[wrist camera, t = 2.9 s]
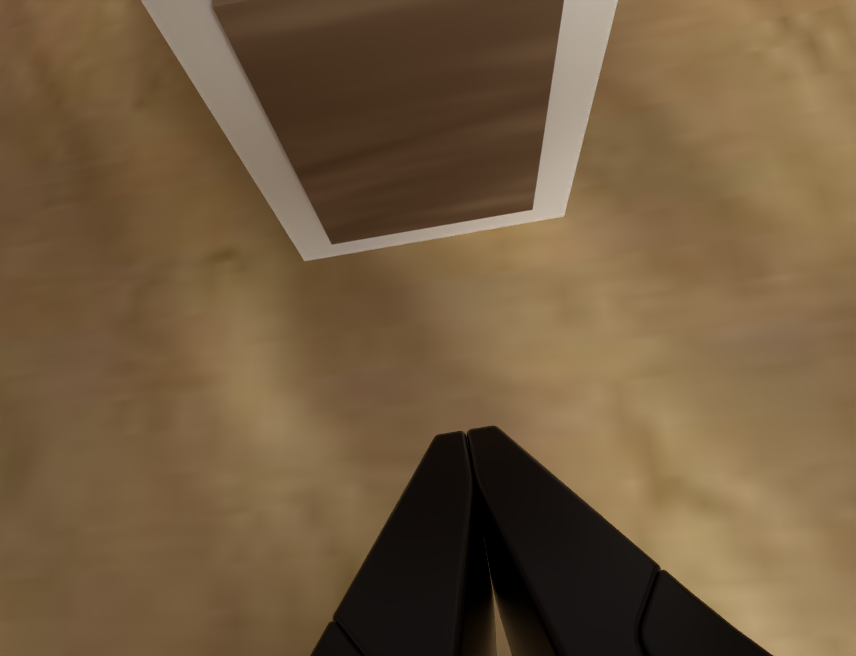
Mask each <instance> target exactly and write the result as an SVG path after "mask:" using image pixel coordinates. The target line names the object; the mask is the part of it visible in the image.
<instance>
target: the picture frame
mask: <svg viewBox="0 0 856 656" xmlns="http://www.w3.org/2000/svg"><path fill="white" fill-rule="evenodd" d="M141 2H142V3H143V5H144V6H145V8H146V10H147V11H148V13H149V14H150V16H151V18H152V19H153V21H154V22H155V24H156V26H157V27H158V29H159V30H160V32H161V33H162V35H163V37H164V38H165V40H166V41H167V43H168V45H169V46H170V48H171V49H172V51H173V53H174V54H175V56H176V57H177V59H178V61H179V62H180V64H181V65H182V67H183V68H184V70H185V72H186V73H187V75H188V76H189V78H190V80H191V81H192V83H193V84H194V86H195V88H196V89H197V91H198V92H199V94H200V96H201V97H202V99H203V100H204V102H205V104H206V105H207V107H208V108H209V110H210V111H211V113H212V115H213V116H214V118H215V119H216V121H217V123H218V124H219V126H220V127H221V129H222V131H223V132H224V134H225V135H226V137H227V139H228V140H229V142H230V143H231V145H232V147H233V148H234V150H235V151H236V153H237V154H238V156H239V158H240V159H241V161H242V162H243V164H244V166H245V167H246V169H247V170H248V172H249V174H250V175H251V177H252V178H253V180H254V182H255V183H256V185H257V186H258V188H259V190H260V191H261V193H262V194H263V196H264V197H265V199H266V201H267V202H268V204H269V205H270V207H271V209H272V210H273V212H274V213H275V215H276V217H277V218H278V220H279V221H280V223H281V225H282V226H283V228H284V229H285V231H286V233H287V234H288V236H289V237H290V239H291V240H292V242H293V244H294V245H295V247H296V248H297V250H298V252H299V253H300V255H301V256H302V258H303V260H304V261H309V260H315V259H321V258H327V257H333V256H338V255H344V254H350V253H356V252H362V251H367V250H373V249H379V248H385V247H390V246H396V245H402V244H408V243H414V242H419V241H425V240H431V239H437V238H442V237H448V236H454V235H460V234H466V233H471V232H477V231H483V230H489V229H495V228H500V227H506V226H512V225H518V224H523V223H529V222H535V221H541V220H547V219H552V218H558V217H564V214H565V210H566V206H567V202H568V198H569V194H570V190H571V186H572V182H573V178H574V174H575V170H576V166H577V162H578V158H579V154H580V150H581V146H582V142H583V138H584V134H585V130H586V126H587V122H588V118H589V114H590V110H591V106H592V102H593V98H594V94H595V90H596V86H597V82H598V78H599V74H600V70H601V66H602V62H603V58H604V54H605V50H606V46H607V42H608V38H609V34H610V30H611V26H612V22H613V18H614V14H615V10H616V6H617V2H618V0H141Z"/></svg>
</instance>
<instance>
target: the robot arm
mask: <svg viewBox="0 0 856 656" xmlns="http://www.w3.org/2000/svg"><path fill="white" fill-rule="evenodd" d="M467 441H468V442H467ZM468 447H469V448H468ZM484 540H485V541H484ZM485 546H486V547H485ZM486 552H487V553H486ZM487 558H488V559H487ZM488 563H489V565H488ZM489 569H490V571H489ZM490 575H491V577H490ZM491 580H492V584H491ZM492 585H493V590H494V595H495V599H496V603H497V606H498V610H499V614H500V617H501V620H502V624H503V627H504V630H505V634H506V637H507V640H508V643H509V647H510V650H511V653H512V656H773V655H771V654H770V653H769V652H767V651H766V650H765V649H763V648H762V647H761V646H759V645H758V644H756V643H755V642H754V641H752V640H751V639H750V638H748V637H747V636H746V635H744V634H743V633H741V632H740V631H739V630H737V629H736V628H735V627H733V626H732V625H731V624H730V623H728V622H727V621H726V620H725V619H723V618H722V617H721V616H720V615H719V614H717V613H716V612H715V611H714V610H712V609H711V608H710V607H709V606H707V605H706V604H705V603H704V602H702V601H701V600H700V599H699V598H698V597H696V596H695V595H694V594H693V593H691V592H690V591H689V590H688V589H687V588H685V587H684V586H683V585H682V584H681V583H680V582H678V581H677V580H676V579H675V578H674V577H673V576H672V575H670V574H669V573H668V572H667V571H665V570H661V568H660V566H659V565H658V564H657V563H656V562H655V561H654V560H652V559H651V558H650V557H649V556H648V555H647V554H645V553H644V552H643V551H642V550H641V549H640V548H638V547H637V546H636V545H635V544H634V543H633V542H631V541H630V540H629V539H628V538H627V537H626V536H624V535H623V534H622V533H621V532H620V531H619V530H617V529H616V528H615V527H614V526H613V525H612V524H610V523H609V522H608V521H607V520H606V519H605V518H603V517H602V516H601V515H600V514H599V513H598V512H596V511H595V510H594V509H593V508H592V507H591V506H589V505H588V504H587V503H586V502H585V501H584V500H582V499H581V498H580V497H579V496H578V495H577V494H575V493H574V492H573V491H572V490H571V489H570V488H568V487H567V486H566V485H565V484H564V483H563V482H561V481H560V480H559V479H558V478H557V477H556V476H554V475H553V474H552V473H551V472H550V471H549V470H547V469H546V468H545V467H544V466H543V465H542V464H540V463H539V462H538V461H537V460H536V459H535V458H533V457H532V456H531V455H530V454H529V453H528V452H526V451H525V450H524V449H523V448H522V447H521V446H519V445H518V444H517V443H516V442H515V441H514V440H512V439H511V438H510V437H509V436H508V435H506V434H505V433H504V432H503V431H502V430H501V429H499V428H498V427H497V426H487V427H481V428H475V429H470V430H469V431H468V432H467V437H466V434H465V433H464V432H463V431H457V432H451V433H444V434H439V435H437V436H435V437H434V439H433V441H432V442H431V444H430V446H429V448H428V449H427V451H426V453H425V455H424V456H423V458H422V460H421V462H420V464H419V465H418V467H417V469H416V471H415V472H414V474H413V476H412V478H411V479H410V481H409V483H408V485H407V487H406V488H405V490H404V492H403V494H402V495H401V497H400V499H399V501H398V502H397V504H396V506H395V508H394V509H393V511H392V513H391V515H390V517H389V518H388V520H387V522H386V524H385V525H384V527H383V529H382V531H381V532H380V534H379V536H378V538H377V540H376V541H375V543H374V545H373V547H372V548H371V550H370V552H369V554H368V555H367V557H366V559H365V561H364V562H363V564H362V566H361V568H360V570H359V571H358V573H357V575H356V577H355V578H354V580H353V582H352V584H351V585H350V587H349V589H348V591H347V593H346V594H345V596H344V598H343V600H342V601H341V603H340V605H339V607H338V608H337V610H336V612H335V614H334V615H333V621H332V622H330V623H329V624H328V625H327V627H326V629H325V631H324V632H323V634H322V636H321V638H320V640H319V641H318V643H317V645H316V647H315V648H314V650H313V652H312V654H311V655H310V656H497V652H496V631H495V612H494V599H493V591H492Z"/></svg>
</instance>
